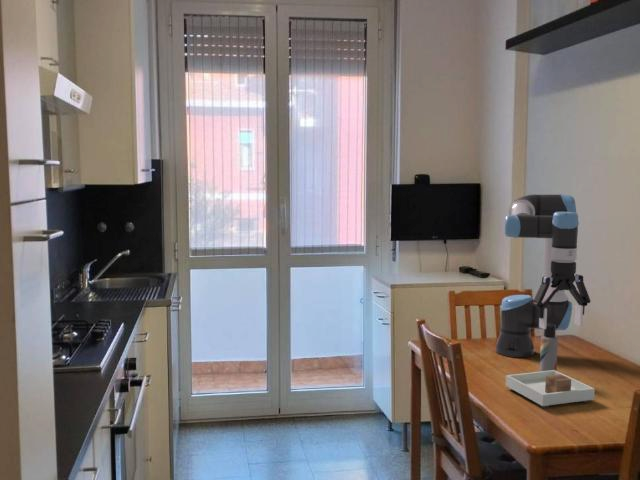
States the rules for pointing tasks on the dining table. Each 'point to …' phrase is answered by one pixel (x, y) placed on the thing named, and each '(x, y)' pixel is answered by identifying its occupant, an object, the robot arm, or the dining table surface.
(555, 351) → the lotion bottle
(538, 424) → the dining table surface
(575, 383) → the tray
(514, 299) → the robot arm
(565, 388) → the walnut block
